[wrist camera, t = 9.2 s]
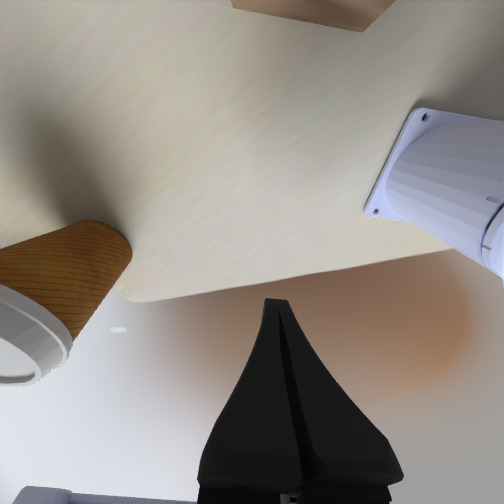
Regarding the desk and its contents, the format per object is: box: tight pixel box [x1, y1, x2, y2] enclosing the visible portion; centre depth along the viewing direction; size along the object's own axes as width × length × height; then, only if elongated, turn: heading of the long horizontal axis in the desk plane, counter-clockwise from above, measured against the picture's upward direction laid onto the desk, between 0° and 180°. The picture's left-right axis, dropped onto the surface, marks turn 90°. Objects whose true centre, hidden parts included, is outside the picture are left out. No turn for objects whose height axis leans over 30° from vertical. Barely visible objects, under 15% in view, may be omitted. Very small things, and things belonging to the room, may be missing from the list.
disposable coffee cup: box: [0, 220, 132, 386], centre depth 16 cm, size 10×10×12 cm
